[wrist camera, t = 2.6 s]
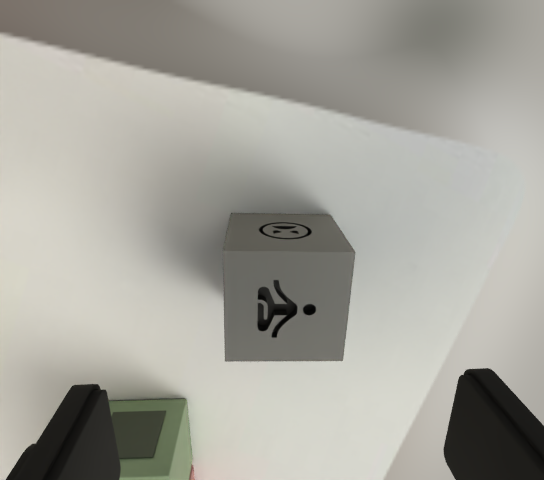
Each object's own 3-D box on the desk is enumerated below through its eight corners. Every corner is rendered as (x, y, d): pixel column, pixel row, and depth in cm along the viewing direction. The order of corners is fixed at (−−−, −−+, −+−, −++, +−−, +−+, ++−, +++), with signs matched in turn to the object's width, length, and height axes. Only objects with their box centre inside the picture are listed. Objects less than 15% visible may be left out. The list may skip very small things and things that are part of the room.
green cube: (186, 396, 23) (168, 474, 18) (192, 459, 24) (177, 544, 20) (102, 399, 22) (61, 478, 18) (114, 462, 24) (80, 549, 19)
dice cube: (231, 213, 19) (222, 250, 14) (330, 214, 19) (355, 252, 14) (231, 301, 20) (225, 361, 16) (323, 301, 21) (342, 360, 16)
